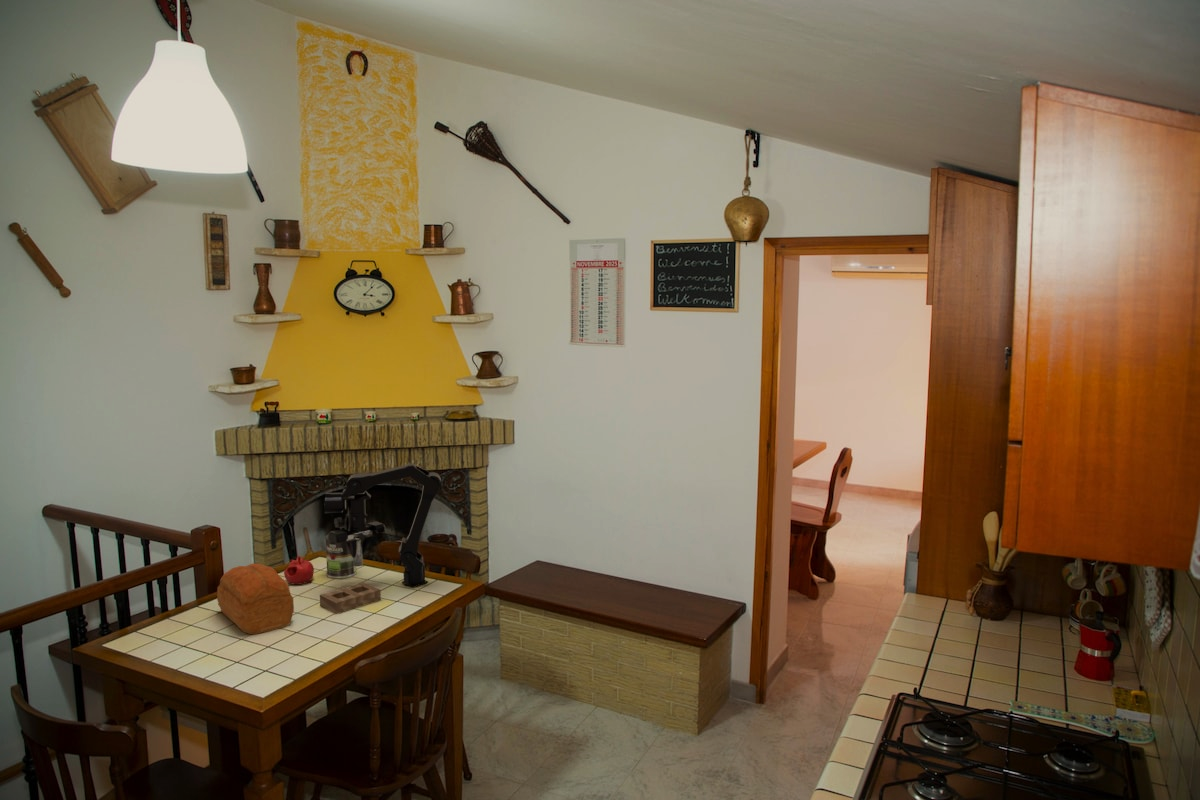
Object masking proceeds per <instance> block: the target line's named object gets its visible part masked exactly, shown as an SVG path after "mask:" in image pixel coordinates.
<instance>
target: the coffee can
mask: <svg viewBox="0 0 1200 800" xmlns="http://www.w3.org/2000/svg"><path fill="white" fill-rule="evenodd" d="M328 535H329V533H328V534H327V535H325V547H326V548H325V550H326V551H325V552H326V576H327V577H328V578H330V579H347V578H350V577H353V576H355V575H356V574H357V566H353V557H352V555H351V553H350V551H349V548H348V546H347V544H346V543H345V542H340V543H336V542H333V541H330V540H328ZM355 538H357V535H354V539H355Z"/></svg>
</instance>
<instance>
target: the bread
mask: <svg viewBox="0 0 1200 800" xmlns="http://www.w3.org/2000/svg"><path fill="white" fill-rule="evenodd" d="M216 589H217V594H216V595H217V599H216V600H217V603H218V606H219V608H220V610H221V612H222V614H223V615H225V616H226V617H227V618H228V619H229V620H230V621H232V622H233V623H234V625H236V626H237V627H238V628H239V629H240V630H241V631H242V632H243V633H245V634H249V635H257V634H262V633H265V632H269V631H273V630H274V631H275V630H278V629H281V628H286V626H288V625H290V624H291V622H292V619H293V614H294V612H295V611H294V610H295V609H294V608H295V607H294V606H295V605H294V597H293V596H292V594H291V590H290V585H289V584H288V581H287V580H286V579H284V578H283V577H281V576H280V575H279V574H278V573H277V571H276V570H275V569H274V568H273V567H271V566H269V565H268V566H267V565H263V564H262V563H250V564H248V565H244V566H243V565H239V566H235V567H233V568H231V569H229V570H227V571H226V572H224V573H223V575H221V578H220V580H219V584H218V586H217V588H216Z"/></svg>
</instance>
